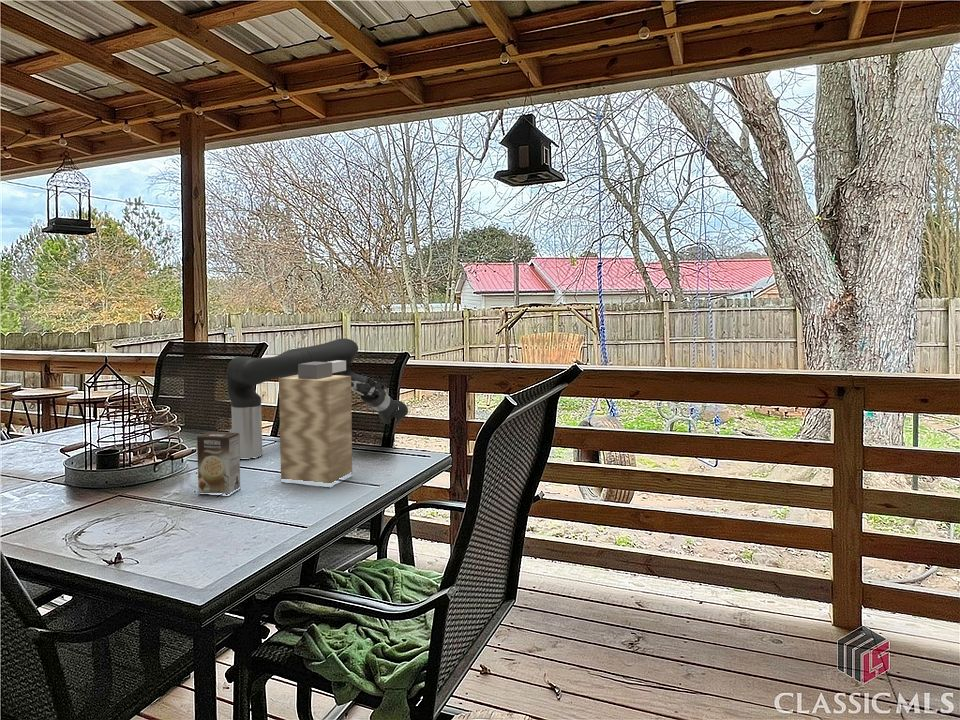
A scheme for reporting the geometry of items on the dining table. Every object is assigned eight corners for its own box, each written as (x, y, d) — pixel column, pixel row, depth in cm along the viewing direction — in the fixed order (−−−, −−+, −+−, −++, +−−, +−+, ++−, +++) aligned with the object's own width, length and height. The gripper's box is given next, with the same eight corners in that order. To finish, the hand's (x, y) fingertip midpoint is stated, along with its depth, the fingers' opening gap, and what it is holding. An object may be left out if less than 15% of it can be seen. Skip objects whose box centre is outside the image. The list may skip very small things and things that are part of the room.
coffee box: (197, 495, 161) (195, 436, 159) (210, 488, 167) (208, 431, 166) (230, 497, 160) (228, 437, 159) (241, 489, 166) (240, 432, 165)
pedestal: (281, 482, 173) (278, 378, 170) (305, 471, 184) (303, 373, 182) (330, 488, 168) (328, 380, 165) (352, 476, 180) (351, 376, 177)
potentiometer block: (298, 378, 171) (298, 364, 170) (333, 371, 188) (333, 358, 188) (316, 379, 169) (316, 364, 168) (350, 372, 186) (350, 359, 186)
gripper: (359, 386, 213) (338, 367, 199) (396, 388, 209) (377, 369, 195) (354, 406, 210) (333, 388, 196) (392, 408, 206) (372, 390, 192)
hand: (355, 378), depth 196 cm, fingers open, 8 cm apart
